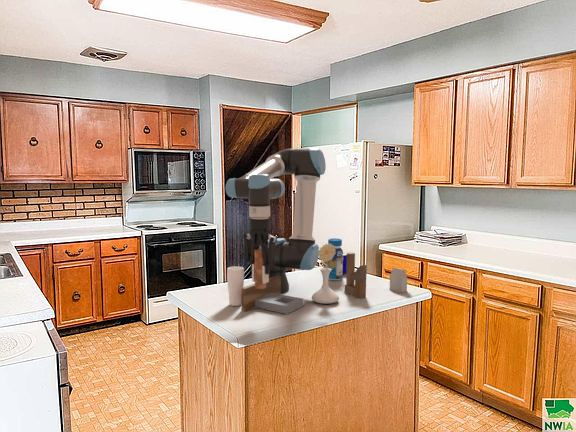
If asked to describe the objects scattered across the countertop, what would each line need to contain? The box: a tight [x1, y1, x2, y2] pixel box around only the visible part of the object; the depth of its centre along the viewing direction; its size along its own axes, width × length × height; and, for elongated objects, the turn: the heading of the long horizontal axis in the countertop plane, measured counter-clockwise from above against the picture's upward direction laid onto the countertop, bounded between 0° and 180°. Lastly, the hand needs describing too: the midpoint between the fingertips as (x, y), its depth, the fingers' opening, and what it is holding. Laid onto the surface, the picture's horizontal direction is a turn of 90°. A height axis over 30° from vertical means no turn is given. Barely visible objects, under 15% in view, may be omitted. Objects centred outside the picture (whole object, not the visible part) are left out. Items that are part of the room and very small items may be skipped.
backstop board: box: [240, 276, 282, 312], centre depth 182 cm, size 2×24×9 cm, turn 146°
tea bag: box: [389, 266, 408, 293], centre depth 203 cm, size 4×7×10 cm, turn 38°
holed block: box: [255, 293, 304, 315], centre depth 177 cm, size 15×12×3 cm
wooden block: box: [343, 252, 368, 299], centre depth 194 cm, size 4×11×18 cm, turn 30°
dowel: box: [254, 248, 266, 289], centre depth 161 cm, size 4×4×14 cm
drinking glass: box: [226, 266, 245, 307], centre depth 180 cm, size 7×7×15 cm
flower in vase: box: [311, 243, 340, 305], centre depth 183 cm, size 13×11×25 cm
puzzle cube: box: [322, 252, 347, 275], centre depth 238 cm, size 10×10×10 cm
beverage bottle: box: [327, 238, 344, 281], centre depth 223 cm, size 8×8×20 cm
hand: (260, 281), depth 162 cm, fingers closed on dowel, 4 cm apart
